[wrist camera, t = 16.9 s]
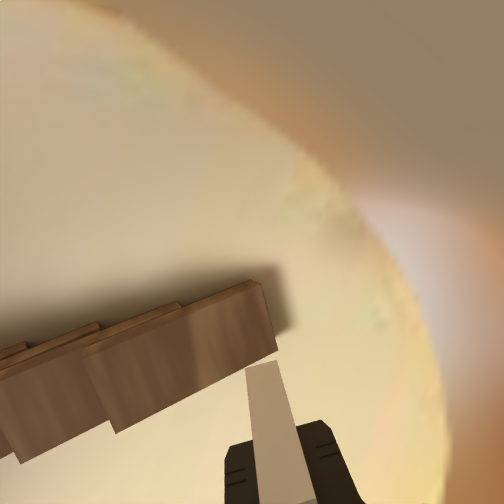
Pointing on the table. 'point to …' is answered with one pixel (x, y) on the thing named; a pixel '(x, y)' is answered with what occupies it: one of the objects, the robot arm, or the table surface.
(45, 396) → the walnut tile
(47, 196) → the table surface
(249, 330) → the walnut tile
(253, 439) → the robot arm
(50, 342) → the walnut tile
